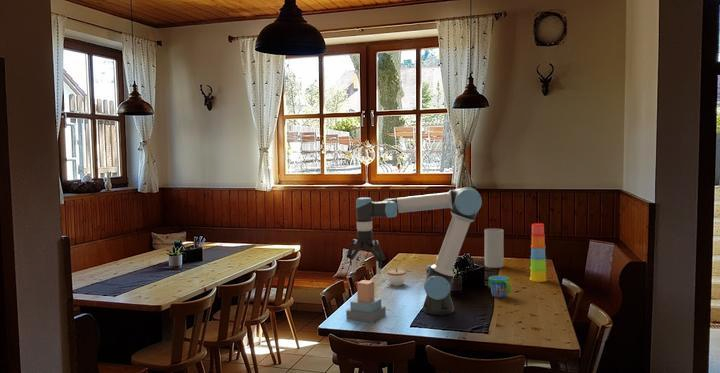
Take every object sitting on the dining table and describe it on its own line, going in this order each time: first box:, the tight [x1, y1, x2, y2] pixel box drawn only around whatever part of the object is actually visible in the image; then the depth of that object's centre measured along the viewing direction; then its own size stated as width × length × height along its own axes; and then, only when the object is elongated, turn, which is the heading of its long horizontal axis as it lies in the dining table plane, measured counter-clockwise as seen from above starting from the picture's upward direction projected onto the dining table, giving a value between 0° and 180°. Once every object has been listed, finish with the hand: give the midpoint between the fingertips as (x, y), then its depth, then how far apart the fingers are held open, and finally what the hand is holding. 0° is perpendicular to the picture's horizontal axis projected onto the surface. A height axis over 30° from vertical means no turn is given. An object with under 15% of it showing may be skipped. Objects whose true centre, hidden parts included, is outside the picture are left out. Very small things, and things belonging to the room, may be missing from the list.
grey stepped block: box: [345, 297, 386, 324], centre depth 257 cm, size 14×14×8 cm
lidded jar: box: [387, 268, 407, 287], centre depth 317 cm, size 11×11×9 cm
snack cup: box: [487, 275, 511, 298], centre depth 288 cm, size 16×10×10 cm
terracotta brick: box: [356, 279, 375, 303], centre depth 257 cm, size 6×6×9 cm
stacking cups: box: [529, 222, 548, 283], centre depth 321 cm, size 10×10×35 cm
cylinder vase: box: [484, 228, 505, 269], centre depth 360 cm, size 12×12×25 cm
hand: (366, 273), depth 256 cm, fingers open, 13 cm apart
